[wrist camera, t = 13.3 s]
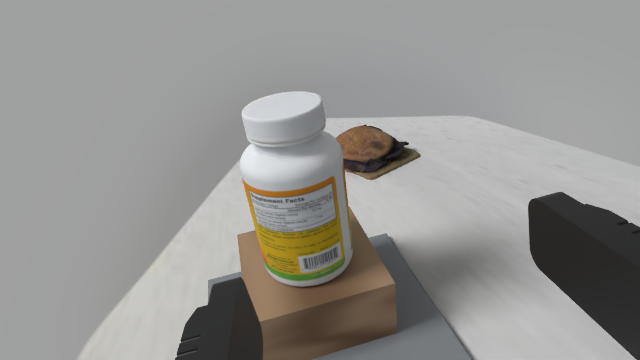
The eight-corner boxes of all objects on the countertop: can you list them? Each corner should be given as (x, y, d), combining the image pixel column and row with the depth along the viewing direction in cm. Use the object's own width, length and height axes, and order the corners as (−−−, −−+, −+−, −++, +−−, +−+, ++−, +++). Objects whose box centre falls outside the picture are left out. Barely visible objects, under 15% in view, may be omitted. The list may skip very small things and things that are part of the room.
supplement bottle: (293, 223, 27) (266, 85, 23) (366, 239, 25) (354, 87, 20) (247, 276, 23) (202, 121, 19) (329, 301, 21) (302, 129, 16)
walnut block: (354, 250, 30) (349, 206, 28) (397, 333, 23) (395, 283, 21) (249, 278, 29) (237, 234, 27) (263, 374, 22) (247, 325, 20)
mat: (386, 237, 32) (386, 233, 32) (472, 365, 22) (472, 361, 21) (209, 284, 30) (208, 280, 29) (211, 451, 19) (209, 447, 19)
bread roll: (426, 160, 43) (426, 128, 42) (365, 188, 40) (363, 155, 38) (363, 133, 51) (362, 106, 50) (309, 155, 48) (304, 126, 46)
